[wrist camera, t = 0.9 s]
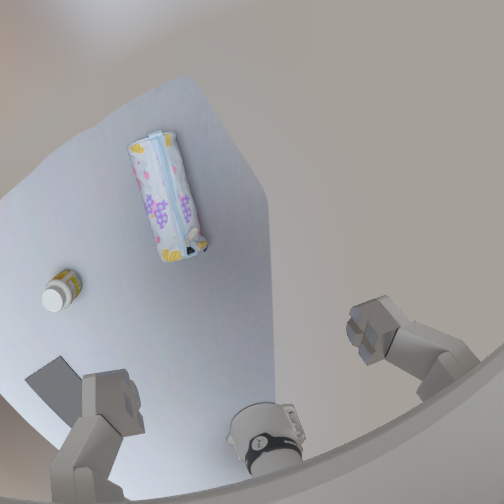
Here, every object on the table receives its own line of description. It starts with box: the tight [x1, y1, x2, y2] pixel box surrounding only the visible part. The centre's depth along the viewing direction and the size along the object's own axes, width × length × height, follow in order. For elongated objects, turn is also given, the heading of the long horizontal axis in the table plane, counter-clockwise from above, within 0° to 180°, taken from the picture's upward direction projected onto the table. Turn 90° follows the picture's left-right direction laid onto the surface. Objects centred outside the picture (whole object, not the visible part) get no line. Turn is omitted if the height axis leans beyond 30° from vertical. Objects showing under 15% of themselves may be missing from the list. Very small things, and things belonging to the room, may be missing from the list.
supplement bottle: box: [42, 270, 82, 312], centre depth 48 cm, size 6×6×10 cm
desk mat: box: [25, 356, 82, 428], centre depth 57 cm, size 24×14×1 cm, turn 30°
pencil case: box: [127, 130, 208, 262], centre depth 49 cm, size 21×9×10 cm, turn 15°
